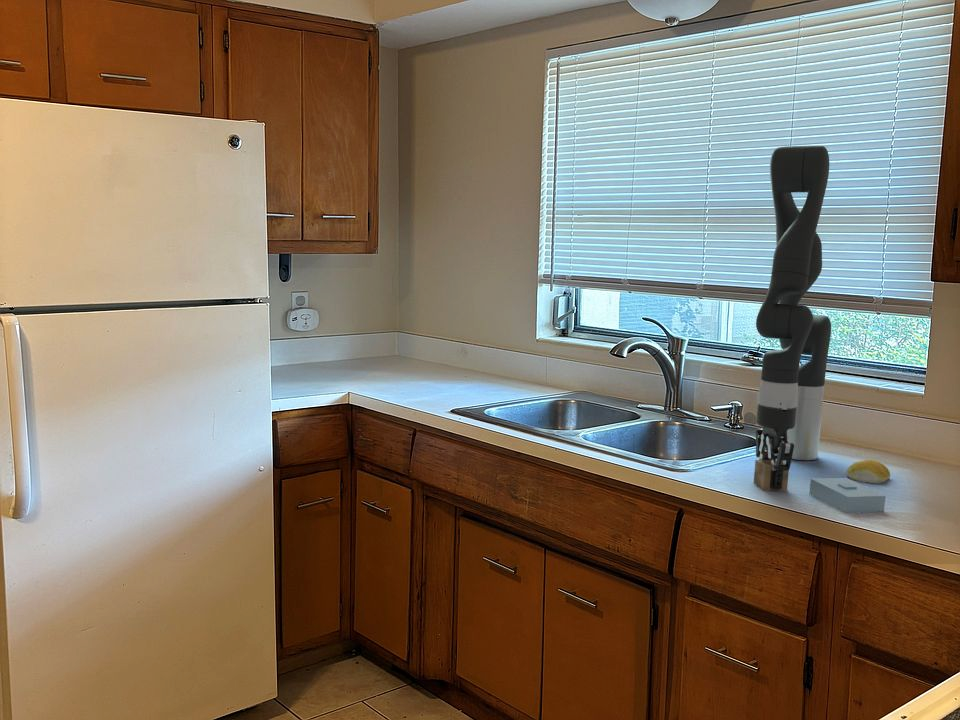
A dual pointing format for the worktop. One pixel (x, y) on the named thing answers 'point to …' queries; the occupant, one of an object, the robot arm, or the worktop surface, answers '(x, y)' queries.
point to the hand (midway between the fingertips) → (770, 484)
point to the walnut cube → (767, 475)
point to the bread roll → (868, 472)
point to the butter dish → (847, 495)
